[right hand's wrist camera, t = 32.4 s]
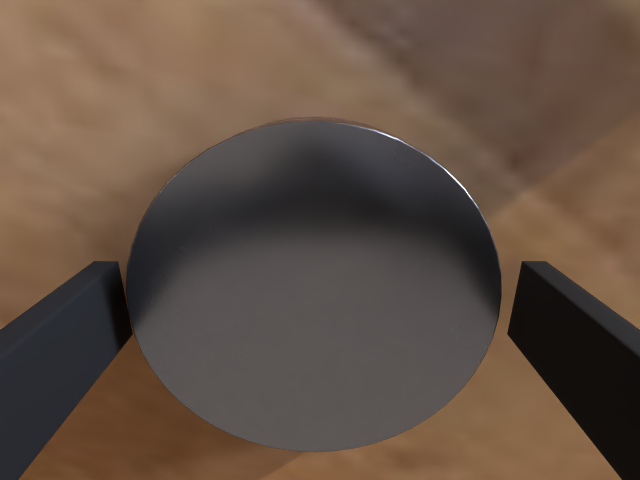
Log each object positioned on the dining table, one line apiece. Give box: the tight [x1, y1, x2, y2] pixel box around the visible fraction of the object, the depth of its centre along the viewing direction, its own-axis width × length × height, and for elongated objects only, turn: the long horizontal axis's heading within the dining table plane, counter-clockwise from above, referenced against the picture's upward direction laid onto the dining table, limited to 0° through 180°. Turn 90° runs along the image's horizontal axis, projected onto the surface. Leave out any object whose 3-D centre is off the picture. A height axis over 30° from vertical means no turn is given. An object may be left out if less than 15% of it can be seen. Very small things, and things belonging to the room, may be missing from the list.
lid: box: [126, 117, 501, 452], centre depth 12 cm, size 11×11×2 cm
